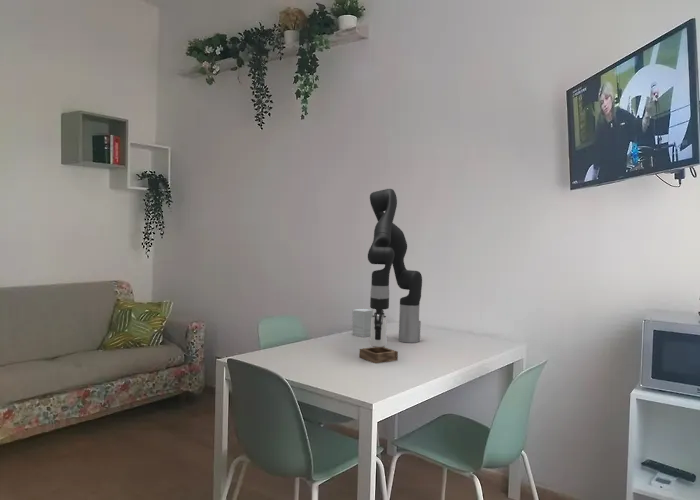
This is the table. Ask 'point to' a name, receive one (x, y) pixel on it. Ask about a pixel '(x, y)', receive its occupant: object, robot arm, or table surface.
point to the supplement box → (362, 322)
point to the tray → (378, 354)
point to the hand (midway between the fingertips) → (378, 337)
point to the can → (383, 333)
